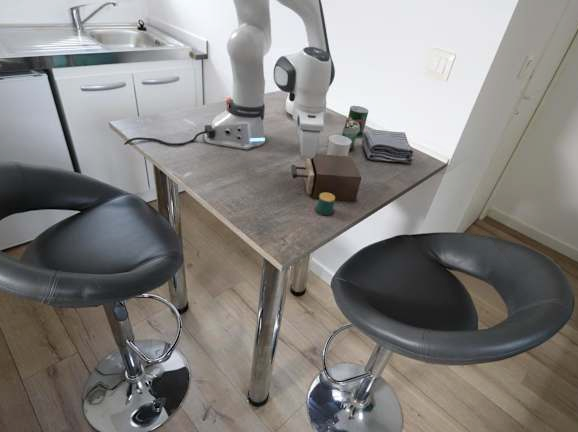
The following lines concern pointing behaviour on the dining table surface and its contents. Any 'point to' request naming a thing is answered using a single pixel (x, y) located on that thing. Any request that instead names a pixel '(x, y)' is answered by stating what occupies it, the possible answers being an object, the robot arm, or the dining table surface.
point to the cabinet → (336, 176)
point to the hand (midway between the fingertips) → (302, 158)
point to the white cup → (338, 145)
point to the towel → (387, 146)
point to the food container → (351, 131)
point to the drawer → (306, 174)
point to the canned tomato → (358, 117)
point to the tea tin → (325, 203)
